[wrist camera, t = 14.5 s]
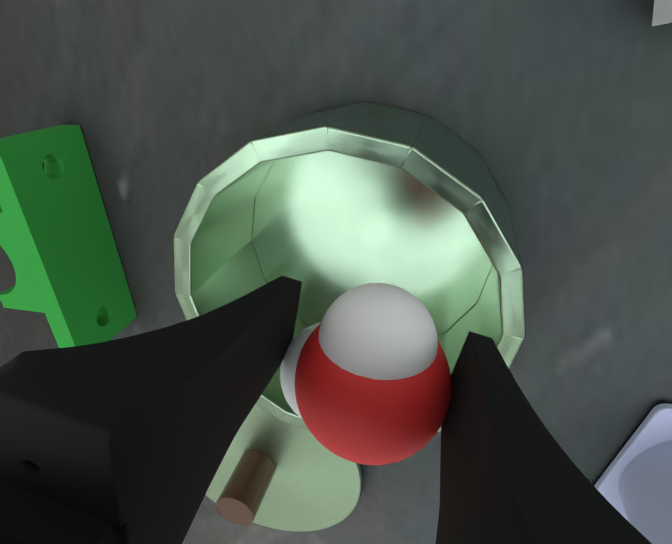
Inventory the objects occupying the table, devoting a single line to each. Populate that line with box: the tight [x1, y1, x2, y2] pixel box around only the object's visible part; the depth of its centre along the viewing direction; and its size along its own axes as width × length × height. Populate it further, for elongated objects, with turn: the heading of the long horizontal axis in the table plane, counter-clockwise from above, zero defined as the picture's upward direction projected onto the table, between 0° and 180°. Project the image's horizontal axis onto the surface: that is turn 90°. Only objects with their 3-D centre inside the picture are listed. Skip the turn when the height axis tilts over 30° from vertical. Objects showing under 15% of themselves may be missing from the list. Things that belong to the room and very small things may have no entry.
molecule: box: [280, 283, 452, 465], centre depth 12 cm, size 5×5×4 cm
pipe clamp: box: [0, 125, 137, 348], centre depth 23 cm, size 11×4×5 cm, turn 3°
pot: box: [174, 102, 526, 432], centre depth 18 cm, size 12×12×6 cm
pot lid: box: [205, 404, 362, 532], centre depth 27 cm, size 13×13×4 cm
